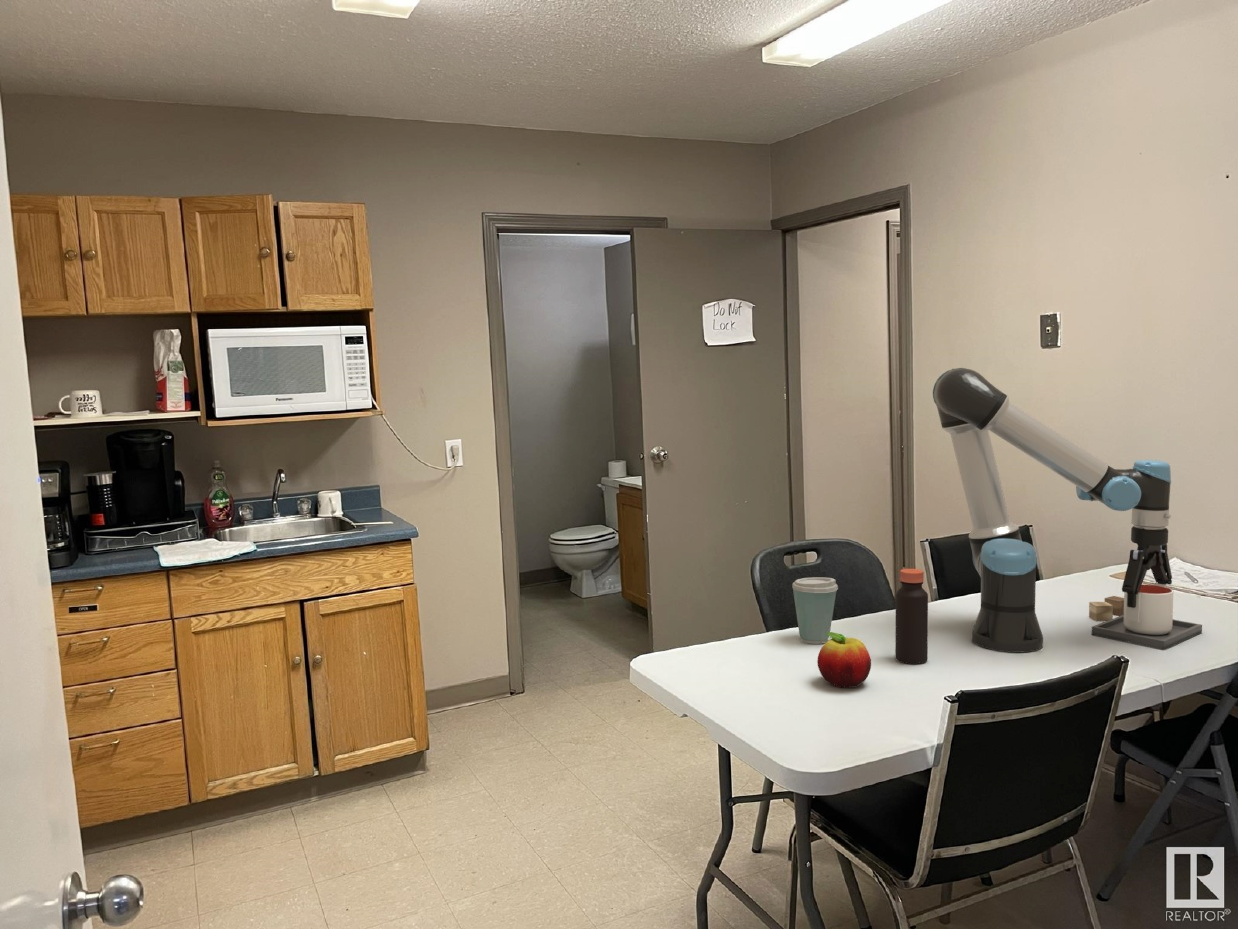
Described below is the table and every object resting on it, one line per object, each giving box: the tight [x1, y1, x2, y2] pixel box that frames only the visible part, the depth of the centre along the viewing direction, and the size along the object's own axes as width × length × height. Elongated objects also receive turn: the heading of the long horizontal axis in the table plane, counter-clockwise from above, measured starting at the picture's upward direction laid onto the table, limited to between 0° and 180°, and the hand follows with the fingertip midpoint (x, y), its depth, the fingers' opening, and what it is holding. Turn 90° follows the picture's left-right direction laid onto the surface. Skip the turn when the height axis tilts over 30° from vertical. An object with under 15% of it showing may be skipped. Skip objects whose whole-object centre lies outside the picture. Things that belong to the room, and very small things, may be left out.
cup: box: [1123, 583, 1174, 635], centre depth 217 cm, size 10×10×10 cm
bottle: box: [894, 568, 929, 665], centre depth 202 cm, size 7×7×20 cm
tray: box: [1091, 615, 1203, 651], centre depth 218 cm, size 20×16×2 cm
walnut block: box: [1104, 595, 1124, 617], centre depth 236 cm, size 4×4×4 cm
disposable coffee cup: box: [791, 576, 839, 645], centre depth 219 cm, size 11×11×15 cm
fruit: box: [816, 631, 872, 689], centre depth 189 cm, size 11×11×10 cm
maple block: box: [1088, 601, 1114, 622], centre depth 231 cm, size 4×4×4 cm
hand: (1146, 615), depth 218 cm, fingers open, 13 cm apart
